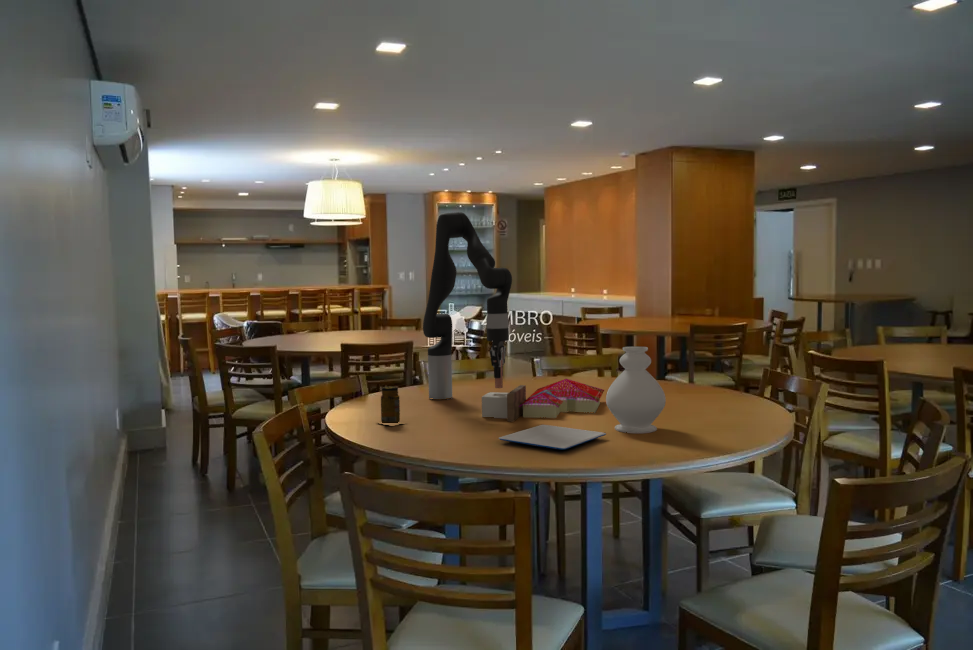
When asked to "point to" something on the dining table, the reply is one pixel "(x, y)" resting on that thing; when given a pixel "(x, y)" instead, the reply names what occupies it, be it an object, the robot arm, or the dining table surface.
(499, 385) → the dowel
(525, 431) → the plate
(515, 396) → the wall
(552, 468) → the dining table surface
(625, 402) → the decorative vase
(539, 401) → the house model
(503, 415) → the block
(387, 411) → the condiment
